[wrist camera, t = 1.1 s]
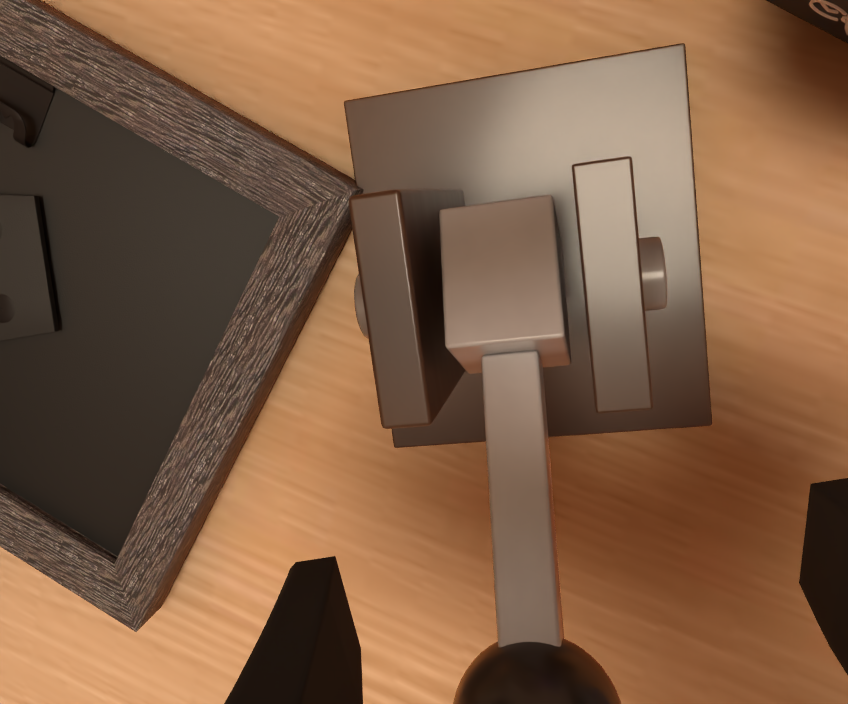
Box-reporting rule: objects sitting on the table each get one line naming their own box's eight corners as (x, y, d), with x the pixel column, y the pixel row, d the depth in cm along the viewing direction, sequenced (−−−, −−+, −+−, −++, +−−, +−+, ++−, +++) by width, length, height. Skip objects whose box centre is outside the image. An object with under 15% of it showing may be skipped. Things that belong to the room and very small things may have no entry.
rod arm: (633, 795, 14) (637, 856, 12) (471, 791, 15) (439, 848, 12) (580, 242, 17) (573, 182, 14) (446, 258, 18) (414, 204, 15)
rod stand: (706, 415, 22) (783, 553, 14) (401, 438, 24) (305, 571, 16) (680, 49, 21) (749, -49, 12) (353, 104, 23) (216, 53, 14)
